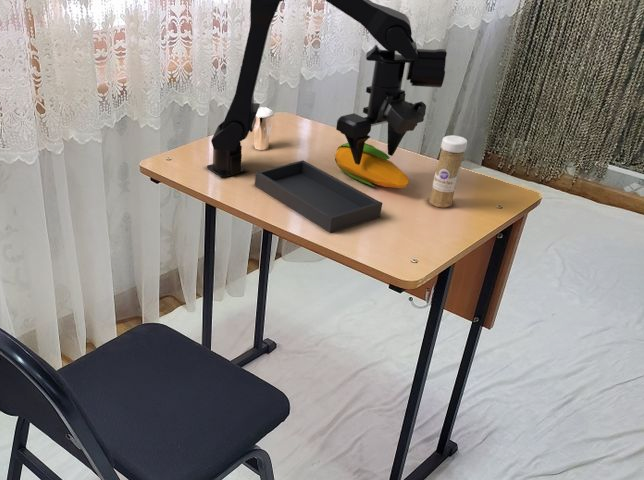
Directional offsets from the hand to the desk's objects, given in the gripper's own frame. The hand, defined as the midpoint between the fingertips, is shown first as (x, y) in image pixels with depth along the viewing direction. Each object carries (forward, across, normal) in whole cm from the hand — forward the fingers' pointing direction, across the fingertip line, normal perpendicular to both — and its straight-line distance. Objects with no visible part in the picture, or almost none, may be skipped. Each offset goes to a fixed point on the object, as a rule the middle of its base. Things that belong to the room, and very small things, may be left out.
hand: (374, 159), depth 154 cm
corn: (+5, 0, 0) cm, 5 cm away
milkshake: (+5, -9, +28) cm, 30 cm away
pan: (+5, -16, -1) cm, 17 cm away
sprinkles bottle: (+5, +5, -15) cm, 17 cm away
